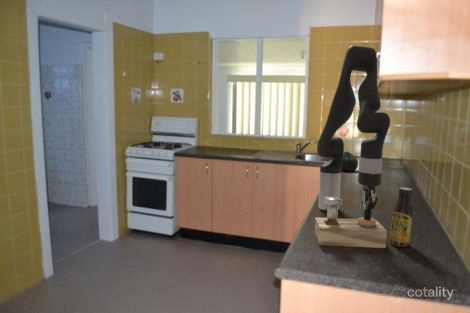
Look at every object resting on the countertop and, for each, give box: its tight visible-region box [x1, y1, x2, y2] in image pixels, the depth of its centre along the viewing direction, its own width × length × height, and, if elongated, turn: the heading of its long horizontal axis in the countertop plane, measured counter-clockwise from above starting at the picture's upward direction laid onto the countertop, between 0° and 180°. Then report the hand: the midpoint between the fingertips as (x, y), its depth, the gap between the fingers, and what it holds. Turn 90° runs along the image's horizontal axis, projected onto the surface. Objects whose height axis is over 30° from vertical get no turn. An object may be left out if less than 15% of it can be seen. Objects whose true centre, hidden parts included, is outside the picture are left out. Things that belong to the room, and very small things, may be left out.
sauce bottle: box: [389, 186, 414, 248], centre depth 127 cm, size 7×6×20 cm
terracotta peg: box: [357, 216, 377, 227], centre depth 130 cm, size 6×6×8 cm
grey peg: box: [324, 197, 343, 222], centre depth 130 cm, size 6×6×8 cm
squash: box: [341, 150, 359, 173], centre depth 274 cm, size 14×15×15 cm
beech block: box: [314, 217, 388, 249], centre depth 131 cm, size 12×22×6 cm, turn 86°
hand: (367, 219), depth 130 cm, fingers closed
